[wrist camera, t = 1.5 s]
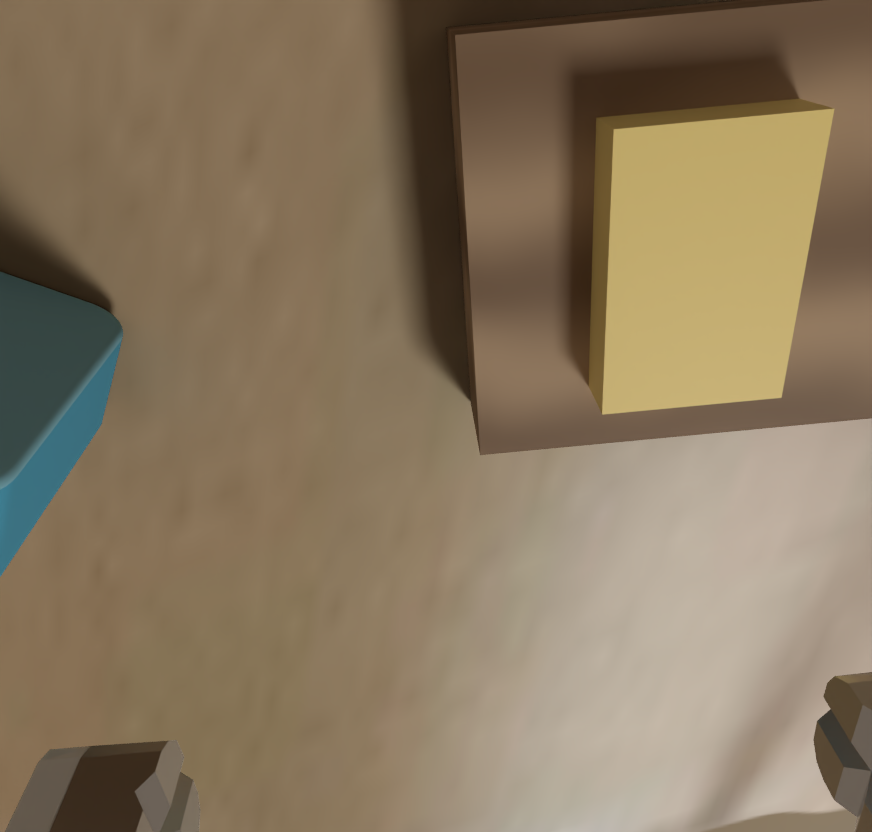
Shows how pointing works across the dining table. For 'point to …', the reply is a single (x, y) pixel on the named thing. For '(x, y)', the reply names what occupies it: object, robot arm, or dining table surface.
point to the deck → (574, 203)
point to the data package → (47, 396)
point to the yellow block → (701, 251)
